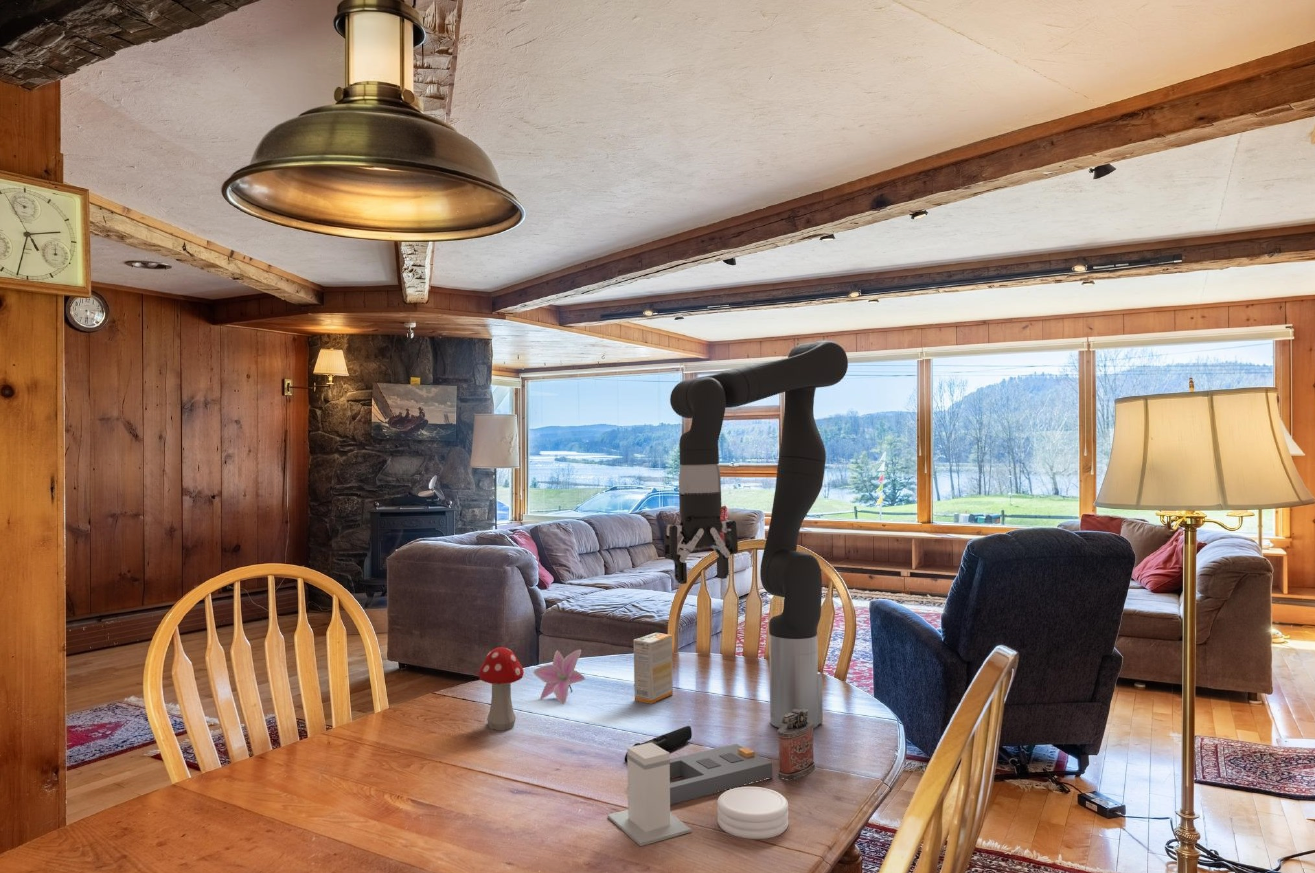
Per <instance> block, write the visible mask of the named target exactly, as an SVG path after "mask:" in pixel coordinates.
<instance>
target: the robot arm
mask: <svg viewBox="0 0 1315 873" xmlns="http://www.w3.org/2000/svg"><path fill="white" fill-rule="evenodd" d="M848 367H849V359H848V354H847V353H846V350H845V349H844V348H843V346H842V345H840V344H839V343H837V342H835V341H833V340H818V341H812V342H806V343H805V342H804V343H801V344H797V345H796V346H793V348H792V349H791V350H790V352H789V354H788V356H787V357H785V358H779V359H774V360H769V361H762V362H757V363H752V364H746V365H742V366H738V367H735V368H732V369H731V368H730V369H727V370H725V371H721V372H720V373H716V374H710V375H705V376H700V377H695V378H689V379H686V380H685V379H684V380H682V381H680V382H678V383H677V384H676V385H675V386H674V388H673V389H672V390H671V392H670V395H669V396H670V397H669V403H670V406H671V409H672V410H673V412H675V414H676V415H678V416H680V417H682V418H685V419H691V425H690V428H689V430H688V431H686V432H684V433H683V434H681V436H680V438H679V445H678V446H679V474H678V495H679V496H678V498H679V500H678V501H679V503H678V504H679V506H678V507H679V517H680V523H679V525H677V524H676V525H674V524H665V526H664V532H663V533H664V535H663V537H664V538H663V542H664V543H663V557H664V559H667V560H671V561H672V562H673V563H674V578H675V580H676V582H677V583H678V584H680V585H686V584H687V582H688V574H687V573H688V569H687V568H688V567H687V562H686V560H687V558H688V557H689V555H690V554H691V553H692V552H693V551H694V549H695V548H698V549H699V548H703V547H708V548H711V549H713V551H714V552H715V553H716V555H717V557H716V577H717V578H718V579H721V580H725V579H727V578H728V576H729V574H730V568H729V567H730V564H729V562H730V561H729V558H730V556H731V555H734V554H737V553H738V551H739V543H738V532H737V530H738V529H737V522H736V520H734V519H733V520H732V519H731V520H730V519H724V520H723V521H722V520H721V516H722V513H723V512H722V508H723V507H722V480H721V479H722V476H721V471H720V465H719V463H720V457H719V456H720V455H719V454H720V453H719V452H720V451H719V439H720V437H721V436H720V435H721V433H722V428H723V427H722V426H723V423H724V417H725V413H726V409H727V408H728V409H729V408H736V407H741V406H745V405H748V404H751V403H754V402H758V401H761V400H764V399H767V398H771V397H773V396H776V395H780V394H782V393H784V410H783V419H782V420H783V421H782V432H781V441H780V448H779V454H778V458H777V459H778V461H777V468H776V478H775V479H776V480H775V489H774V490H775V491H774V494H773V495H774V496H773V502H772V509H771V516H770V520H769V521H770V522H769V527H768V530H767V536H766V540H765V543H764V548H763V552H762V553H763V554H762V558H761V561H760V562H761V563H760V572H759V575H760V577H759V578H760V582H761V584H762V587H763V589H764V590H765V592H767V593H768V594H770V595H773V596H776V597H780V598H783V607H782V608H783V610H782V612H781V613H780V614H778V615H774V616H772V617H771V618H770V619H769V621H768V622H769V623H768V634H769V635H768V640H769V642H768V645H769V646H768V648H769V649H768V650H769V651H768V652H769V703H770V705H769V710H770V712H769V715H770V716H769V717H770V718H769V719H770V721H769V722H770V724H771V725H772V726H774V727H776V728H778V729H779V728H781V727H782V726H784V725H786V724H782V717H783V715H786V714H788V713H791V712H792V710H793V709H796V710H801V709H807V710H808V717H807V720H810V721H813V722H814V728H813V729H815V728H817V727H818V726H819V725H820V724H822V723H823V722H824V721H823V717H824V714H823V712H824V711H823V675H822V672H819V671H818V670H819V668H818V667H819V665H818V664H819V662H818V656H819V654H818V626H819V623H820V620H821V616H822V596H823V595H822V591H823V579H822V578H823V574H822V569H821V565H820V563H819V560H817V558H816V557H815V556H814V555H813V554H811V553H808V552H803V551H798V550H797V548H798V541H799V540H798V539H799V533H800V531H801V527H802V524H803V522H804V520H805V518H806V517H807V515H808V513H809V512H810V510H811V508H812V507H813V505H814V504H815V502H816V500H817V498H818V497H819V494H820V493H821V491H822V488H823V486H824V485H823V484H824V479H825V478H824V476H825V468H826V461H827V460H826V458H827V455H826V454H827V452H826V448H825V444H824V442H823V438H822V436H821V434H820V431H819V428H818V426H817V424H816V421H815V420H816V419H815V417H814V416H815V415H814V406H815V395H816V389H817V388H827V387H831V386H834V385H836V384H838V383H839V382H841V381H842V380H843V379H844V377H845V376H846V374H847V371H848ZM721 531H722V532H723V538H724V539H723V538H722V537H721V536H720V533H721ZM680 535H681V536H682V537H681V539H680V541H679V542H678V537H679V536H680Z"/></svg>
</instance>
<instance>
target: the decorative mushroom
mask: <svg viewBox="0 0 1315 873" xmlns="http://www.w3.org/2000/svg"><path fill="white" fill-rule="evenodd" d="M524 673H525V672H524V667H523V666H522V664H521V663H520V661H519V659H518V658H517V655H516V654H515V653H514V652H513V651H512V650H511V649H509V648H507V647H502V646H501V647H496V648H494V649H491V650H490V651H489V652H488V654H487V655H486V656H485V659H484V661H483V662H482V664H481V666H480V667H479V670H478V677H479V680H481V681H482V682H484V683H487V684H491V701H490V707H489V713H488V715H487V719H486V720H487V723H488V727H489V728H490V729H491V730H494V729H495V730H496V731H506V730H511V729H512V728H514V726H515V722H516V719H517V718H516V714H515V711H514V709H513V707H514V706H513V703H512V689H511V686H512V685H511V684H513V683H515V682H517V681H520V680H521V679H523V676H524ZM495 730H494V731H495Z"/></svg>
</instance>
